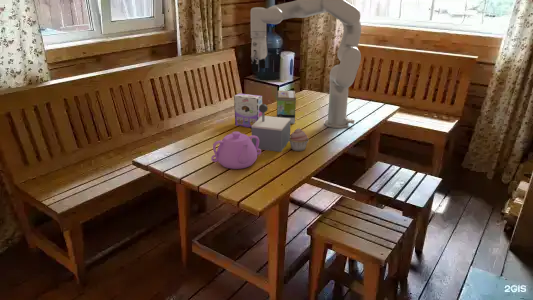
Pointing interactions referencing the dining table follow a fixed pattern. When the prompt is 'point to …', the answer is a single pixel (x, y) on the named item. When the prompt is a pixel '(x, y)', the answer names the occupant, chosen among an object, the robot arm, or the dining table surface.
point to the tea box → (286, 105)
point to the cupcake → (298, 140)
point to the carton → (272, 138)
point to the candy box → (247, 109)
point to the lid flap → (270, 121)
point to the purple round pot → (236, 151)
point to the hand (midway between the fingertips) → (258, 70)
